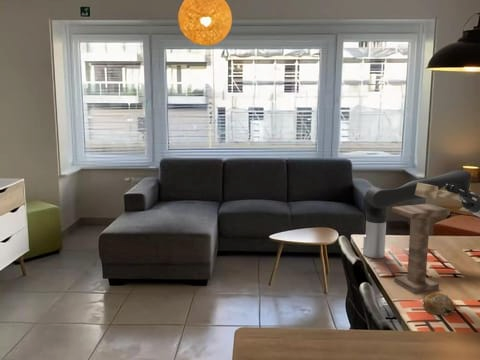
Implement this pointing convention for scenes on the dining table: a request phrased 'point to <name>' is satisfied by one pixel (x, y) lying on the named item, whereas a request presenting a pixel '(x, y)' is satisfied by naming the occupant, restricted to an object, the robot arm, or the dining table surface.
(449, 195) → the mallet
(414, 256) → the stand
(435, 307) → the bread roll
